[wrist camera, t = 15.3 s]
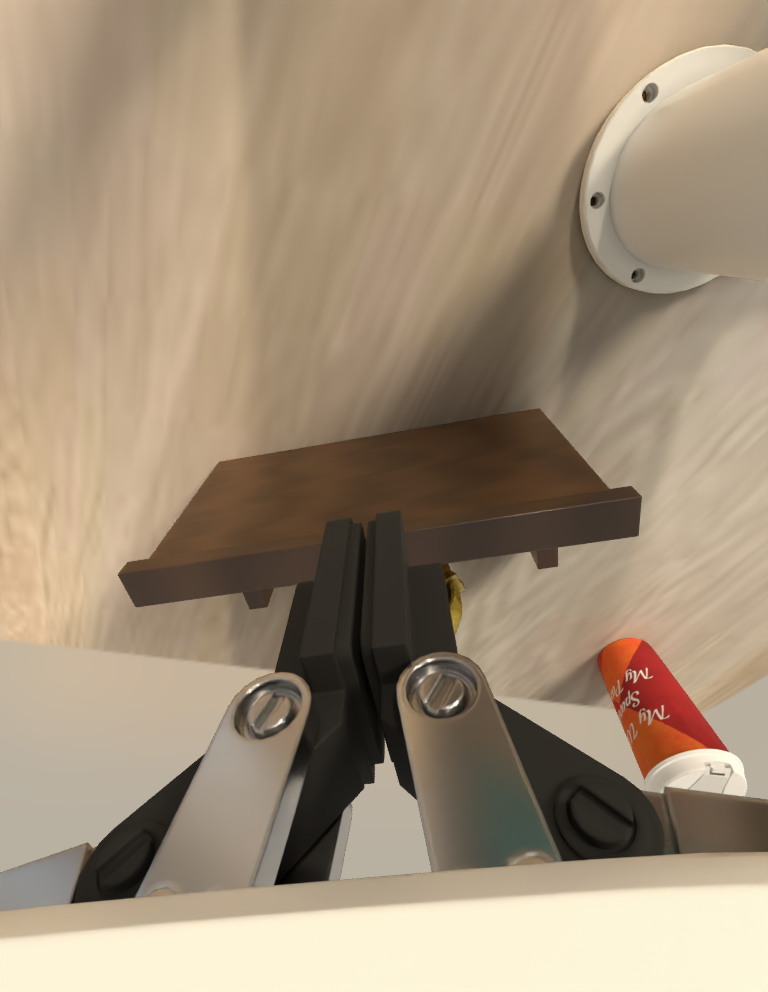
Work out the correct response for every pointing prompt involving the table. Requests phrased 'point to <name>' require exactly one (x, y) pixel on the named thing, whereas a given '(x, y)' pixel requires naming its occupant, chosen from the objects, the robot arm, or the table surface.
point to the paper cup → (666, 724)
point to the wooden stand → (385, 506)
